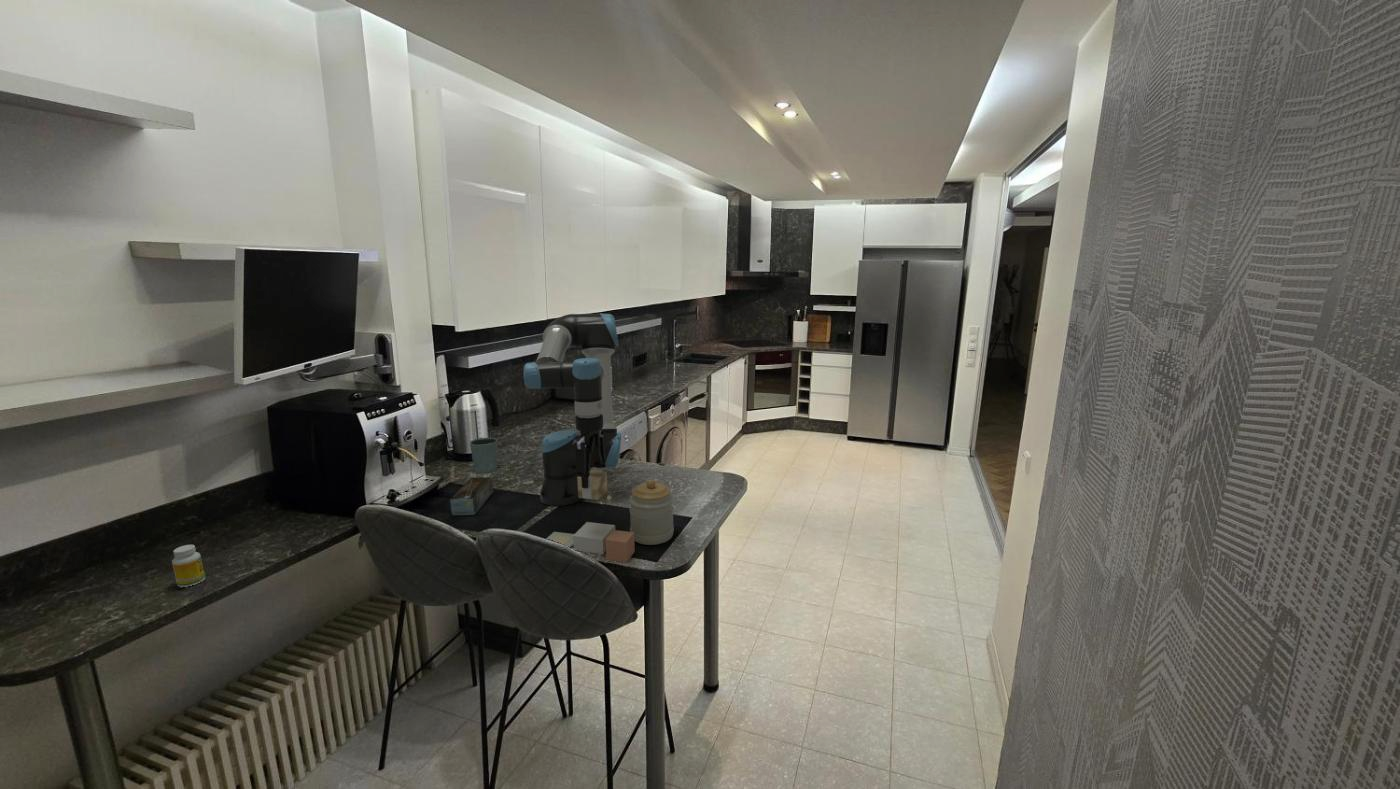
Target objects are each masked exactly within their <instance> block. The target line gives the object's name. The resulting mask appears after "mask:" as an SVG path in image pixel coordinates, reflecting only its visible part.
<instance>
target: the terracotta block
mask: <svg viewBox="0 0 1400 789" xmlns="http://www.w3.org/2000/svg"><path fill="white" fill-rule="evenodd" d="M605 541H606V552H605V560H608V561H613V562H614V561H615V562H622V563H628V562H629V560H630V559H631V558H632V556H633V554H634V553H635V551H636V549H635V541H634V532H630V531H626V530H625V531H624V530H616V529H615V530H614V531H613V532H612V533H611V534H610V535H609V536H608V538H607V539H606V540H605Z"/></svg>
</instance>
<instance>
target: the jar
mask: <svg viewBox="0 0 1400 789" xmlns="http://www.w3.org/2000/svg"><path fill="white" fill-rule="evenodd" d="M628 501H629V504H630V507H629V513H630V515H629V516H630V517H629V518H630V528H629V532H634V542H636V543H637V544H640V545H649V546H652V545H654V546H655V545H660V544H664V543H666V542H668V541H669V540H671V539H672V538H673V536H674V531H675V530H674V528H675V527H674V506H673V504H672V502H674V496H673V495H672V493H671V489H670V487H669V486H667V485H665V484H663V483H661V482H656V481H655V480H654V479H647V481H646V482H642V483H640V484H638V485H637V486H635V487H634V488H633V489H632V490H631V495H630V497H629V500H628Z"/></svg>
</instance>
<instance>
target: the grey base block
mask: <svg viewBox="0 0 1400 789" xmlns="http://www.w3.org/2000/svg"><path fill="white" fill-rule="evenodd" d="M614 530H616V525H615V524H607V523H601V522H600V523H598V522H590V521H586V522H585V523H584V524H583V525H582V526H581V527H580V528H579V529H578V530H577V531H576V532H575V533H573V534H574V535H573V550H574V549H576V550H578V551H577V552H584V553H591V554H599V555H600V554H601V555H604V554H606V541H605V540H606V539H607V538H608V536H609V535H610V534H611V533H612V532H613V531H614Z"/></svg>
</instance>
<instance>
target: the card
mask: <svg viewBox="0 0 1400 789" xmlns="http://www.w3.org/2000/svg"><path fill="white" fill-rule="evenodd" d="M574 534H575V533H568V532H567V533H566V532H559V531H553V532H552V533H551V534H550V535H549V536H548V537H546V539H550V540H553V541H555V542H559V543H561V544H564V545H566V546H569V547H571V548H572V547H574V545H573V535H574Z"/></svg>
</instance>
